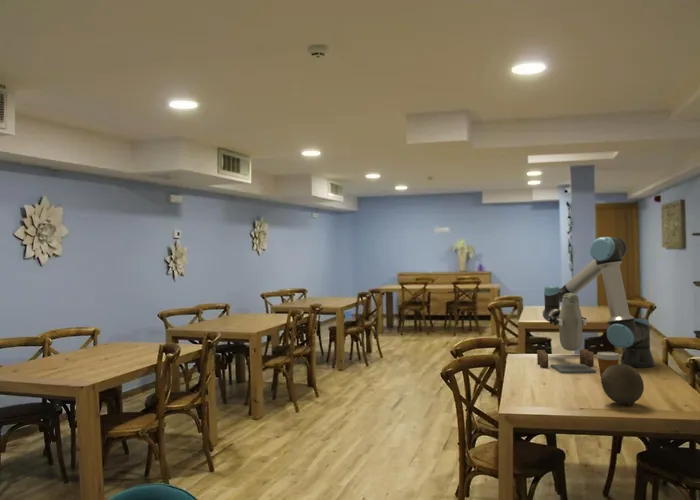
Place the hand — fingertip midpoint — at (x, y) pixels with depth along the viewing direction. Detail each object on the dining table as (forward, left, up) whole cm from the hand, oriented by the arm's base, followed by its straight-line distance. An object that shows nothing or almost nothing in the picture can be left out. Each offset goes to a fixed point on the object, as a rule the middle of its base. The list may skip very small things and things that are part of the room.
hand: (573, 322), depth 274 cm
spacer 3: (+6, -21, -23) cm, 32 cm away
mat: (+3, -3, -23) cm, 24 cm away
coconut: (-42, +43, -23) cm, 65 cm away
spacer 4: (+1, -16, -23) cm, 28 cm away
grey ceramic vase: (+3, -3, -14) cm, 15 cm away
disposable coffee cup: (-20, +8, -23) cm, 32 cm away
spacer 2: (+16, +1, -23) cm, 28 cm away
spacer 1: (+21, -5, -23) cm, 32 cm away
